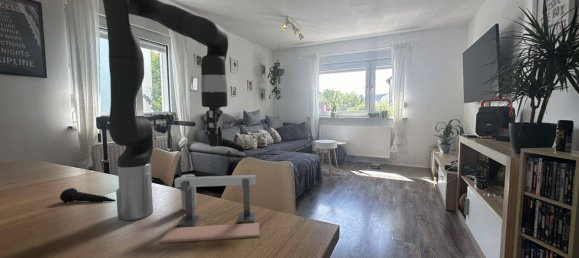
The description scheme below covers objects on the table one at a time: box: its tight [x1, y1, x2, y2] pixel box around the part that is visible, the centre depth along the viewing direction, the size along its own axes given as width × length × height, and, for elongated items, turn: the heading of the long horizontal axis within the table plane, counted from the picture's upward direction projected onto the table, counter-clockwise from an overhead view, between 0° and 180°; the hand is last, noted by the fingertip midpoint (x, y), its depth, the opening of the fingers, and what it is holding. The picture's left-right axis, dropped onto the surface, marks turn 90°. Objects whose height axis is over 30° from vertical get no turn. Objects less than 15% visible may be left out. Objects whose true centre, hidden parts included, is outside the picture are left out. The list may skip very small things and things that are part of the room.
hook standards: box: [176, 173, 256, 228], centre depth 76 cm, size 23×6×14 cm, turn 97°
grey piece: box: [180, 173, 197, 212], centre depth 86 cm, size 5×5×12 cm
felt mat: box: [160, 222, 260, 244], centre depth 69 cm, size 26×7×1 cm, turn 97°
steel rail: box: [174, 174, 257, 188], centre depth 75 cm, size 24×2×2 cm, turn 97°
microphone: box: [59, 187, 117, 204], centre depth 93 cm, size 6×6×20 cm
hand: (216, 144), depth 75 cm, fingers open, 8 cm apart
